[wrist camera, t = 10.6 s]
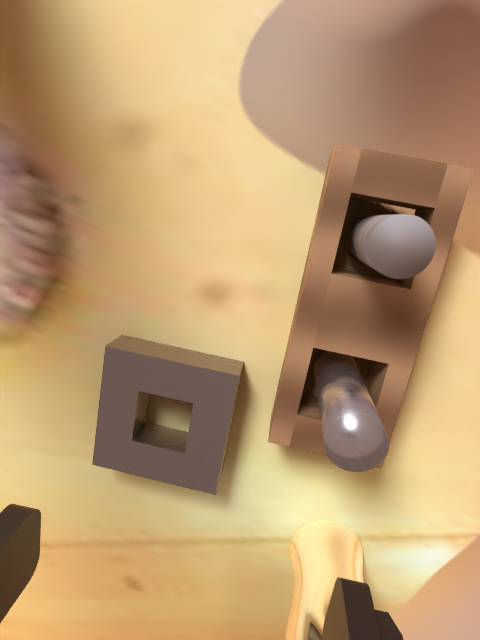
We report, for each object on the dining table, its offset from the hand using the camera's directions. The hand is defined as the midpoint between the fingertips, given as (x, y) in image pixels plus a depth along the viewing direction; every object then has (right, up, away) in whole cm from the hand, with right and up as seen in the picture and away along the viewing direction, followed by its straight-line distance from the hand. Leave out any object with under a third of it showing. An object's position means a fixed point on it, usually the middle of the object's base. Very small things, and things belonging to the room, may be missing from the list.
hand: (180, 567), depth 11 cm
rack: (+10, +8, +20) cm, 23 cm away
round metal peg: (+9, +3, +21) cm, 23 cm away
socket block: (-4, 0, +23) cm, 24 cm away
